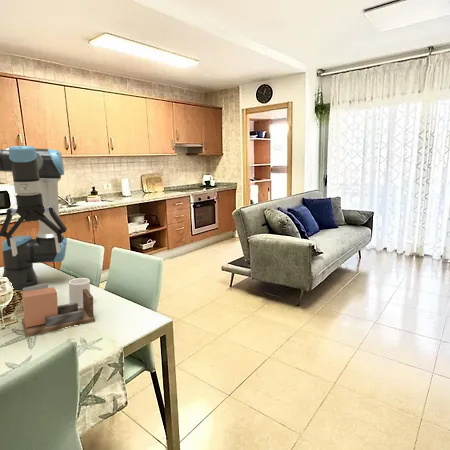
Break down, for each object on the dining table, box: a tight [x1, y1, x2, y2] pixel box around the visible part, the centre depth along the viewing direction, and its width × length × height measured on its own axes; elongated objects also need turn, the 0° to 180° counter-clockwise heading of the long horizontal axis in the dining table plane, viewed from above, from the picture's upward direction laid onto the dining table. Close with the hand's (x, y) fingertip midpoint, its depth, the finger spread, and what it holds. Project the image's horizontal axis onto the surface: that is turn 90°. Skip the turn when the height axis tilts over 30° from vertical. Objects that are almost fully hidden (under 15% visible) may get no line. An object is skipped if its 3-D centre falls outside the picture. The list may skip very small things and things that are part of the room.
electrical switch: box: [21, 282, 49, 293], centre depth 132 cm, size 9×5×9 cm, turn 141°
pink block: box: [22, 286, 58, 328], centre depth 116 cm, size 10×6×11 cm, turn 126°
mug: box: [68, 277, 91, 308], centre depth 139 cm, size 8×12×10 cm, turn 40°
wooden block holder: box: [21, 289, 96, 338], centre depth 119 cm, size 22×12×10 cm, turn 126°
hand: (37, 253), depth 113 cm, fingers open, 13 cm apart
